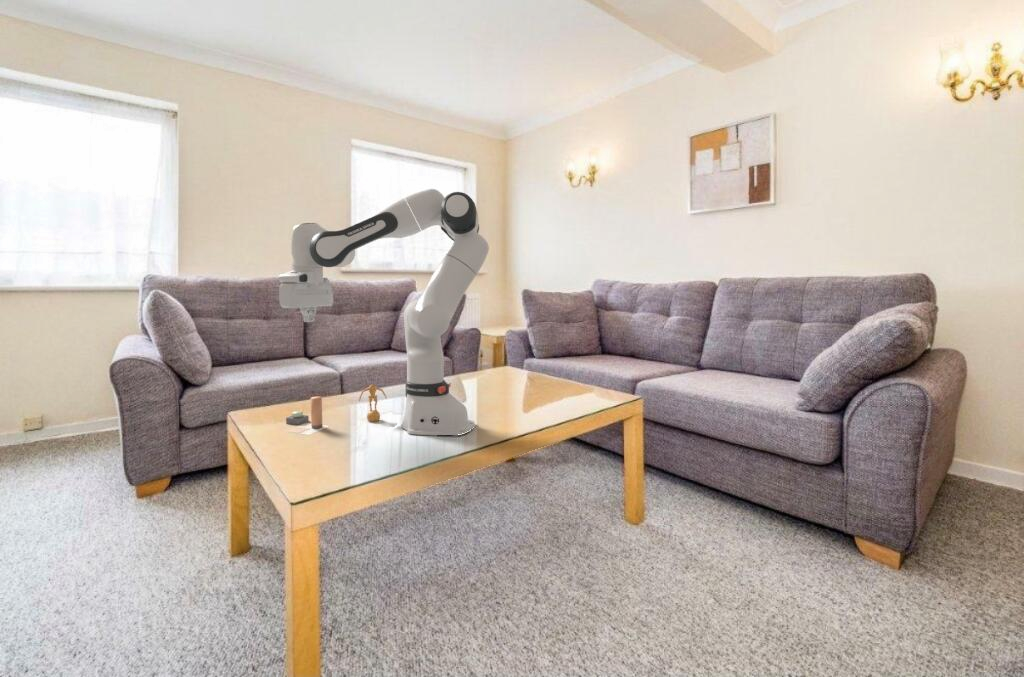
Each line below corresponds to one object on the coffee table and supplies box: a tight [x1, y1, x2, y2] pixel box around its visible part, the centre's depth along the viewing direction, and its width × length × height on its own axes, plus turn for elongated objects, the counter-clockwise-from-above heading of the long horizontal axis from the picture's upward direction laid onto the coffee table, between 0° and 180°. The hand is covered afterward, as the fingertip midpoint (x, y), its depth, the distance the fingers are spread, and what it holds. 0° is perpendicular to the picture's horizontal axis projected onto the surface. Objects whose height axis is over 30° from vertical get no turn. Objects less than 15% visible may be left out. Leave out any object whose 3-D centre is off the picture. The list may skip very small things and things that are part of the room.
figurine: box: [358, 383, 387, 423], centre depth 146 cm, size 8×6×12 cm
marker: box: [310, 396, 324, 429], centre depth 137 cm, size 3×3×9 cm
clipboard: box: [283, 414, 330, 436], centre depth 137 cm, size 14×12×2 cm
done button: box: [291, 410, 304, 418], centre depth 142 cm, size 3×3×3 cm
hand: (308, 321), depth 144 cm, fingers closed
